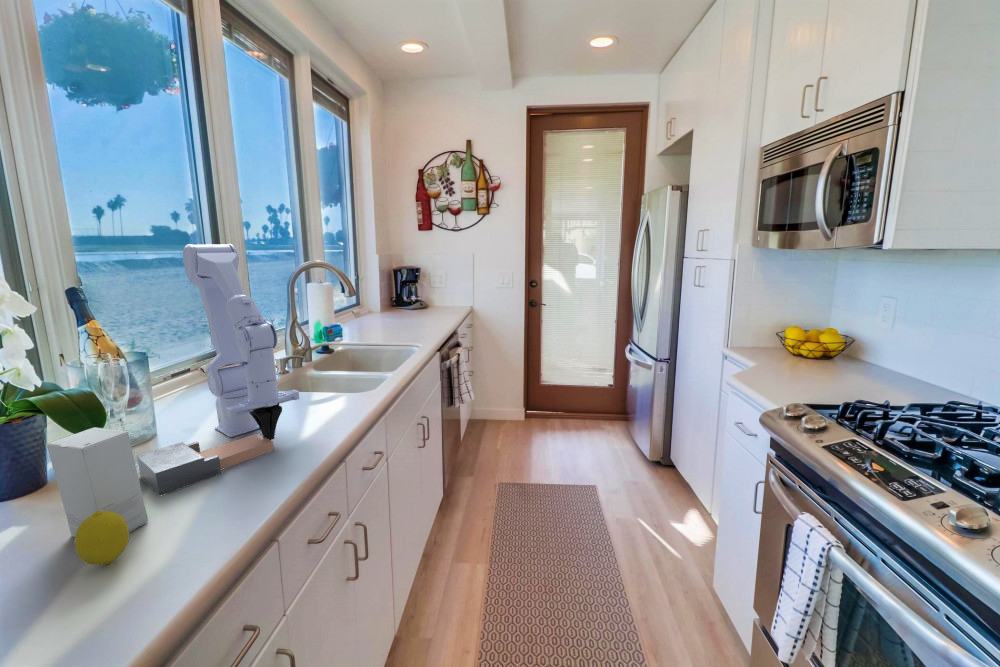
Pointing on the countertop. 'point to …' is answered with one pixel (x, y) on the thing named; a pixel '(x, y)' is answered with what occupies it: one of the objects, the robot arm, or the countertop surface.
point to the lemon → (101, 538)
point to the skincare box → (97, 476)
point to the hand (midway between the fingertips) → (269, 438)
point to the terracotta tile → (239, 450)
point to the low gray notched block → (176, 467)
